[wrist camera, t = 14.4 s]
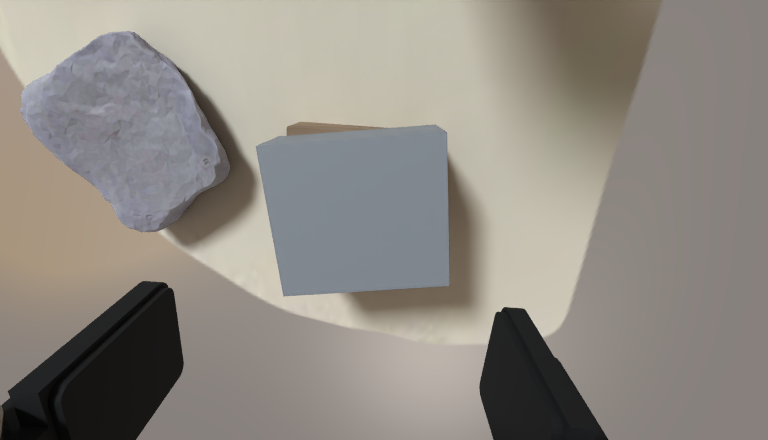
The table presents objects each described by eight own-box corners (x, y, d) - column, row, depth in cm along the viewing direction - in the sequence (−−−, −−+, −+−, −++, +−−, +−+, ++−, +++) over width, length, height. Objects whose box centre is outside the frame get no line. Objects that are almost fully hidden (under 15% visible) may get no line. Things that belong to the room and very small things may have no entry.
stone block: (150, 22, 26) (40, 106, 27) (115, 1, 22) (-18, 102, 22) (261, 157, 30) (164, 230, 30) (251, 164, 25) (136, 250, 26)
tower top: (279, 136, 24) (255, 146, 19) (435, 124, 23) (447, 132, 19) (299, 263, 26) (283, 296, 22) (439, 254, 26) (449, 285, 22)
